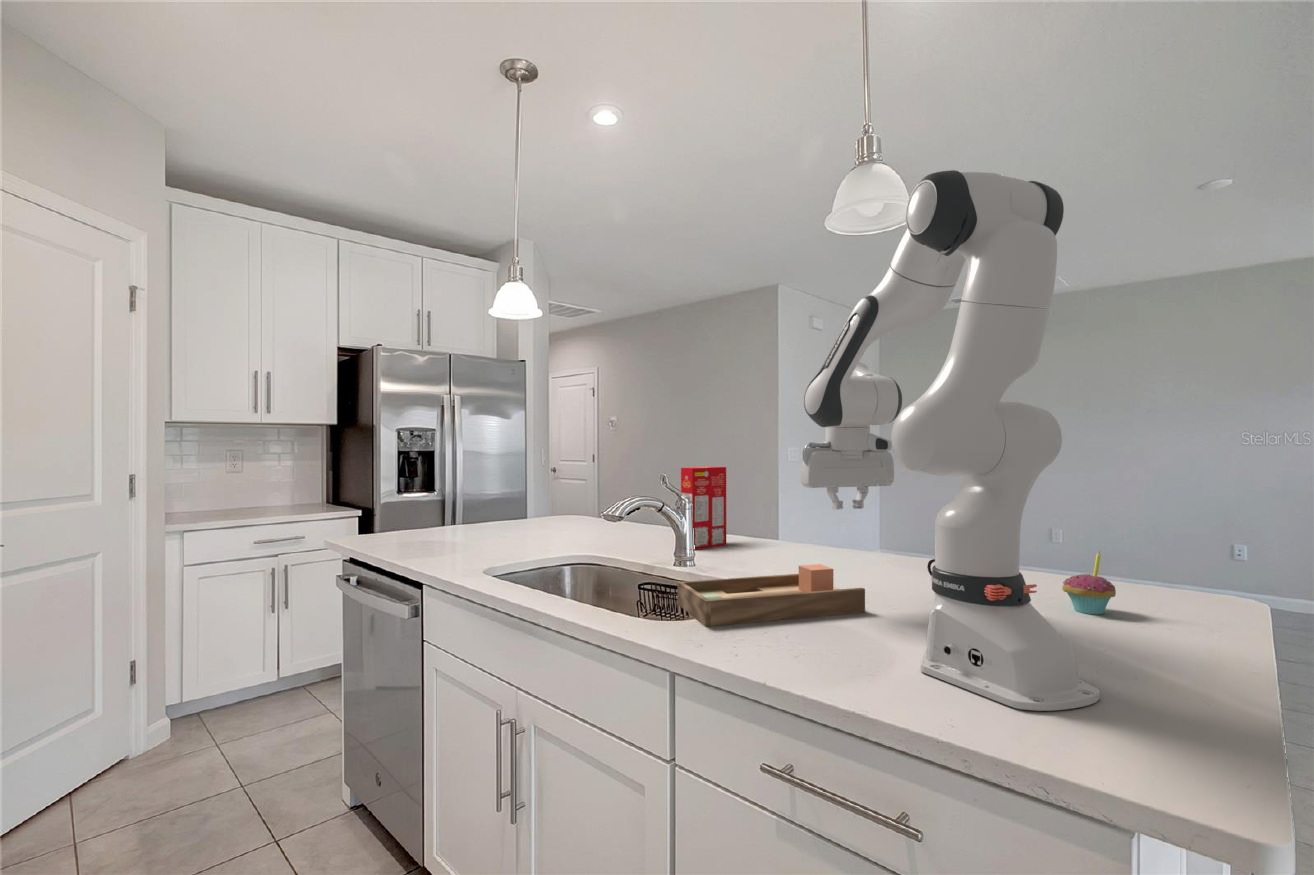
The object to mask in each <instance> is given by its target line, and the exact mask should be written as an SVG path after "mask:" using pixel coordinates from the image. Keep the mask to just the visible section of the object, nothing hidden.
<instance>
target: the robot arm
mask: <svg viewBox="0 0 1314 875" xmlns="http://www.w3.org/2000/svg"><path fill="white" fill-rule="evenodd" d="M1064 206H1065V205H1064V202H1063V198H1062V196H1061V195H1060V193H1059V192H1058V190H1056V189H1055V188H1053V187H1051V186H1050V185H1047V184H1046V183H1042V182H1039V181H1036V180H1028V181H1027V180H1024V179H1023V180H1022V179H1020V178H1016V177H1011V176H1010V177H1009V176H1005V175H1001V174H999V173H995V172H979V171H977V172H976V171H974V172H973V171H971V172H968V171H967V172H966V171H965V172H963V171H962V172H960V171H959V170H954V169H953V170H943V171H941V170H940V171H938V172H937V171H935V172H933V173H930V174H927V175H926V176H924V177H923V178H922V179H921V180H920V181H919V182H918V183H917V184H916V186H915V187H914V189H913V190H912V191H911V194H910V196H909V198H908V202H907V204H906V209H905V225H906V228H907V229H906V231H905V232H904V234H903V236H902V237H901V240H900V241H899V242H898V243H899V244H898V246H897V248H896V250H895V252H894V254H893V257H892V259H891V261H890V264H889V267H888V269H887V271H886V273H885V275H884V277H883V278H882V280H881V281H880V282H879V284H878V285H877V286H876V287H875V288H874V289H873V290H872V291H871V292H870V293H869V294H868V295H867V296H865V297H864V298H861V299H860V300H859V301H858V302H857V303H856V304H855V306H854V307H853V309H852V311H851V312H850V314H848V315H849V316H848V317H847V319H846V320H845V323H844V325H843V327H842V328H841V330H840V332H839V334H838V335H837V337H836V339H835V340H834V341H835V342H834V343H833V345H832V346H831V349H830V350H829V352H828V354H827V357H826V358H825V360H824V361H823V363H822V365H821V367H820V369H819V370H818V372H816V375H815V376H814V377H813V378H812V380H811V381H810V382H809V384H808V385H807V387H806V389H805V392H804V396H803V397H804V398H803V407H804V410H805V412H806V414H807V415H808V417H809V418H810V420H812V421H813V422H814V423H815V424H817V425H818V426H820V427H821V428H825V441H821V442H815V441H814V442H813V441H812V442H809V443H808V444H806V445H805V446H804V447H803V448H802V454H801V456H802V465H801V473H800V483H801V484H802V486H803V487H805V488H810V489H817V488H818V489H820V488H821V489H823V488H826V493H827V495H828V497H829V498H830V500H831V508H832V510H839V511H840V510H843V509H844V501H843V500H840V499H839V496H838V495H837V494H838V493H839V488H856V491H857V492H858V493H857V495H856V498H855V499H852V509H856V510H859V509H861V510H862V509H864V508H865V507H864V502H865V500H866V498H867V497H868V496H867V495H868V494H869V487H890V486H892V484H893V483H894V480H895V464H894V463H895V462H894V457H893V454H892V453H891V452H890V451H891V450H893V453H894V455H895V457H896V459H897V460H898V462H899V463H900V465H902V467H905V469H908V470H910V471H914V472H918V473H922V474H925V475H926V474H927V475H931V476H938V477H939V476H940V477H944V476H945V477H947V476H948V477H950V476H952V477H953V476H957V477H958V476H963V479H962V482H961V485H960V488H959V490H958V491H957V493H956V494H955V496H954V498H953V499H952V500H950V501H949V502H948V503H946V504H945V505H944V506H942V507H941V509H940V510H938V512H937V514H936V517H935V520H934V528H935V529H934V555H935V556H934V559H935V562H934V565H933V566H932V568H931V571H932V575H930V579H931V580H930V581H931V590H932V591H933V592H934V597H933V598H934V599H933V603H932V606H931V610H930V612H929V618H928V627H927V634H926V635H927V636H926V645H925V646H926V647H925V651H924V655H923V660H922V661H921V662H920V667H919V668H920V669H919V670H920V671H921V673H923V674H926V675H929V676H932V677H934V678H936V679H939V680H942V681H944V682H947V683H949V684H952V685H955V686H957V687H960V688H962V689H965V690H967V691H970V692H972V693H974V694H978V695H980V696H983V697H985V698H988V699H991V700H993V701H996V702H998V703H1001V704H1003V705H1006V706H1009V707H1011V708H1014V709H1017V710H1025V711H1044V712H1045V711H1047V712H1050V711H1063V710H1071V709H1077V708H1082V707H1086V706H1091V705H1092V704H1095V703H1097V702H1098V701H1099V700H1100V699H1101V694H1100V693H1101V692H1100V689H1099V688H1098V687H1096V686H1094V685H1092V684H1090V683H1088V682H1086V681H1083V680H1082V679H1080V678H1079V673H1078V672H1079V671H1078V665H1077V659H1076V655H1075V651H1074V649H1073V647H1072V645H1071V644H1070V642H1068V640H1066V639H1065V638H1064V637H1063V636H1062V635H1061V634H1060V633H1059V632H1058V631H1057V630H1056V629H1055V628H1054V627H1053V625H1052V624H1050V623H1049V622H1048V620H1046V618H1045V617H1044V616H1043V615H1042V614H1041V613H1040V612H1039V611H1038V610H1037V609H1036V608H1035V607H1034V606H1033V604H1031V601H1032V598H1031V595H1030V594H1036V593H1037V592H1038V591H1037V590H1031V589H1033V588H1036V587H1037V586H1038V585H1037V584H1035V583H1034V584H1026V581H1025V578H1024V576H1023V574H1022V573H1021V572H1020V556H1021V555H1020V551H1021V549H1020V548H1021V546H1020V544H1021V526H1022V525H1021V524H1022V518H1023V513H1024V510H1025V506H1026V503H1027V500H1028V498H1029V495H1030V493H1031V491H1032V488H1033V486H1034V484H1035V483H1036V480H1038V477H1040V475H1041V474H1042V472H1043V471H1045V469H1046V468H1047V467H1049V466H1050V465H1052V463H1053V462H1054V461H1055V460H1056V458H1057V457H1058V455H1059V453H1060V451H1061V447H1062V443H1063V434H1062V428H1061V426H1060V424H1059V422H1058V420H1057V419H1056V417H1055V416H1054V415H1053V414H1052V413H1050V412H1049V411H1048V410H1046V409H1044V408H1041V407H1037V406H1034V405H1030V404H1027V403H1023V402H1018V401H1001V400H1002V398H1003V396H1004V394H1005V393H1006V391H1007V390H1008V388H1010V386H1011V385H1012V384H1013V383H1014V382H1015V381H1016V380H1018V379H1020V378H1022V376H1024V375H1026V374H1027V373H1029V372H1030V371H1031V370H1032V369H1033V368H1034V367H1035V366H1036V364H1037V362H1038V361H1039V356H1040V354H1041V348H1042V344H1043V341H1044V336H1045V332H1046V327H1047V323H1048V318H1049V315H1050V310H1051V305H1052V301H1053V297H1054V296H1053V295H1054V290H1055V284H1056V283H1055V282H1056V274H1057V264H1058V263H1057V260H1058V243H1057V241H1058V240H1057V237H1056V236H1057V234H1058V233H1059V230H1060V228H1061V225H1062V223H1063V219H1064V213H1065V212H1064V210H1065V208H1064ZM965 263H966V264H967V265H966V266H967V273H966V278H965V283H964V286H963V290H962V295H961V299H960V300H961V301H960V304H959V309H958V315H957V318H956V323H955V328H954V332H953V336H952V341H951V344H950V348H949V350H948V354H947V357H946V359H945V362H944V364H943V365H942V367H941V369H940V371H939V372H938V374H937V376H936V377H935V379H934V380H933V382H932V383H931V385H930V386H929V387H928V388H927V389H926V391H925V392H924V393H923V394H922V395H921V396H920V397H919V398H918V399H916V400H915V401H913V402H912V403H911V404H909V405H907V406H906V407H904V409H903V410H902V407H903V393H902V390H901V388H900V386H899V384H898V382H896V380H894V379H893V378H892V377H889V376H888V377H887V376H884V375H881V374H877V373H875V372H873V371H871V370H870V369H869V368H868V366H867V365H866V364H865V363H862V362H860V361H861V359H862V357H863V356H864V354H865V352H866V350H868V348H869V347H870V346H871V345H872V344H873V343H874V342H876V341H877V340H879V339H882V338H883V337H885V336H888V335H890V334H893V333H895V332H899V331H903V330H906V329H911V328H915V327H917V326H920V325H923V324H926V323H927V322H929V321H931V320H933V319H934V318H936V317H937V316H939V315H940V313H941V312H942V310H943V309H944V308H945V307H946V305H947V303H948V302H949V300H950V298H951V296H952V294H953V291H954V290H955V287H956V284H957V283H958V280H959V278H960V275H961V272H962V270H963V268H964V266H965ZM893 421H894V423H893V425H892V428H891V435H890V436H891V437H890V439H887V438H884V437H882V436H879V435H876V434H873V433H871V427H870V426H880V425H881V426H882V425H886V424H890V423H892V422H893Z"/></svg>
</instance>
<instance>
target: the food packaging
mask: <svg viewBox="0 0 1314 875" xmlns="http://www.w3.org/2000/svg"><path fill="white" fill-rule="evenodd" d="M681 492H682V493H683V494H685V495H686V496H687V497H689V498H690V501H692V504H693V528H694V545H695V549H696V550H695V551H697V550H704V549H709V548H717V547H724V546H727V467H726V466H694V467H693V466H692V467H690V466H689V467H680V493H681Z"/></svg>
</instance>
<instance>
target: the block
mask: <svg viewBox="0 0 1314 875" xmlns="http://www.w3.org/2000/svg"><path fill="white" fill-rule="evenodd" d="M798 574H799V590H800V591H802V592H812V591H825V590H833V587H834V568H832V567H829V566H826V565H823V564H821V563H818V564H815V563H814V564H805V565H804V564H802V565H798Z"/></svg>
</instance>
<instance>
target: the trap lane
mask: <svg viewBox="0 0 1314 875" xmlns="http://www.w3.org/2000/svg"><path fill="white" fill-rule="evenodd" d="M676 587H677V597H676V598H677V605H678V606H679V607H680V608H682V609H683V610H685V611H686V612H687V613H688V614H689V615H691V616H692V617H693V618H695V620H697V621H698V622H700V623H701V625H703V626H704V627H714V626H725V625H737V624H746V623H747V624H748V623H758V622H769V621H770V622H771V621H781V620H789V619H790V620H793V619H803V618H814V617H815V618H816V617H823V616H824V617H825V616H827V617H828V616H836V615H837V616H838V615H847V614H857V613H858V614H859V613H865V612H866V589H865V587H855V588H842V589H841V588H838V587H836V586H833V590H825V591H812V592H802V591H800V590H799V573H791V574H790V573H789V574H777V575H776V574H774V575H762V576H760V575H759V576H747V577H745V576H744V577H733V578H731V577H730V578H729V577H728V578H718V579H717V578H716V579H702V580H687V581H677V586H676Z"/></svg>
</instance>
